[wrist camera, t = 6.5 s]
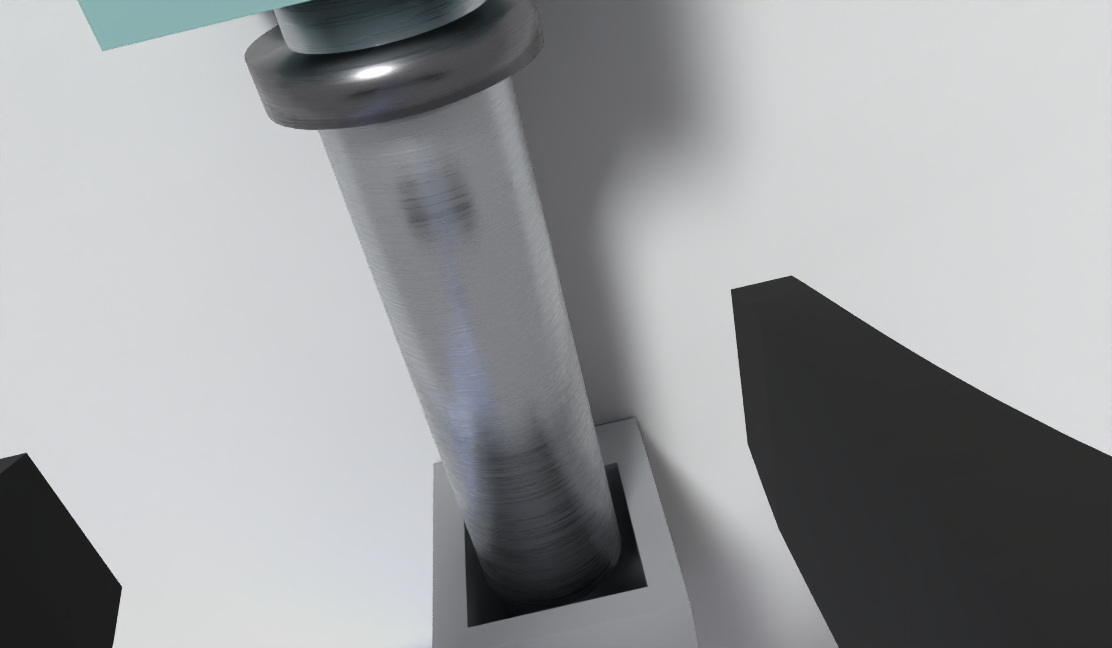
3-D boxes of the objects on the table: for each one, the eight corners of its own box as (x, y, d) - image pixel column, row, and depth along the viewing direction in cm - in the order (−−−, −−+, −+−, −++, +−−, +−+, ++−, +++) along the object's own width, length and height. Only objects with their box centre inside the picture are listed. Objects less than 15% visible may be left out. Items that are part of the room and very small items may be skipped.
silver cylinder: (629, 462, 21) (668, 607, 17) (454, 502, 21) (457, 655, 17) (463, -315, 13) (471, -338, 9) (173, -243, 13) (72, -237, 9)
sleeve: (669, 582, 25) (722, 776, 20) (494, 622, 25) (507, 824, 20) (635, 416, 22) (690, 603, 17) (433, 464, 22) (432, 661, 17)
